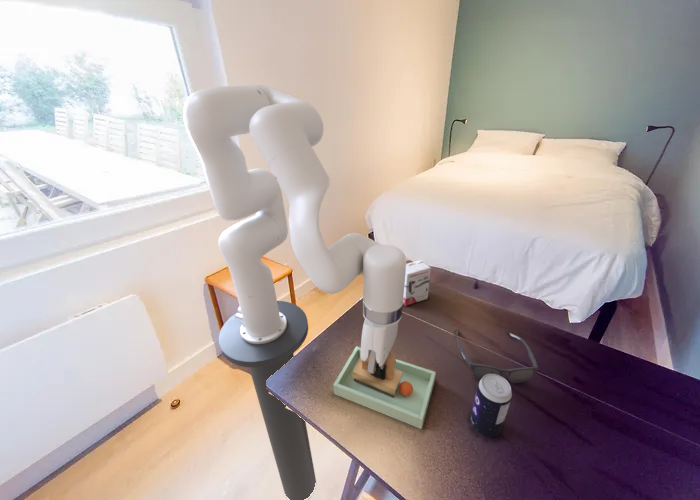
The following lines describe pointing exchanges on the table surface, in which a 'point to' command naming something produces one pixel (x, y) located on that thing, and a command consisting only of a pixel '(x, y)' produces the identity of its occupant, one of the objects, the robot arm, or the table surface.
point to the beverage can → (491, 404)
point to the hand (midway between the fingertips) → (379, 372)
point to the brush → (382, 386)
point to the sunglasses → (513, 374)
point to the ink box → (416, 282)
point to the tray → (396, 407)
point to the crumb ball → (406, 388)
